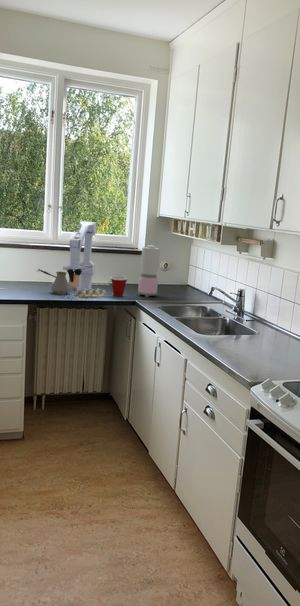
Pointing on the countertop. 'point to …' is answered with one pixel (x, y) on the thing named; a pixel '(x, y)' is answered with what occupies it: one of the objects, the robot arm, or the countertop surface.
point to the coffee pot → (59, 283)
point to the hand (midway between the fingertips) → (73, 281)
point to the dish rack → (91, 293)
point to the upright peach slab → (74, 281)
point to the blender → (149, 271)
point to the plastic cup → (118, 285)
